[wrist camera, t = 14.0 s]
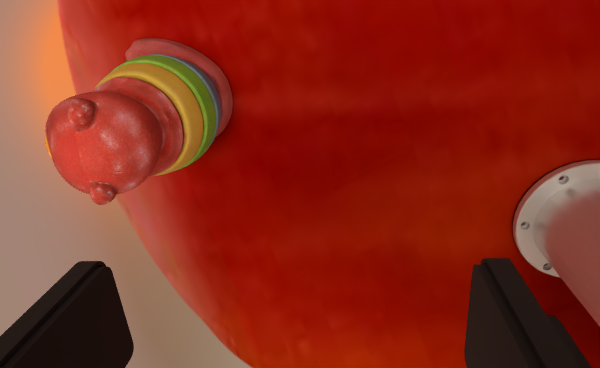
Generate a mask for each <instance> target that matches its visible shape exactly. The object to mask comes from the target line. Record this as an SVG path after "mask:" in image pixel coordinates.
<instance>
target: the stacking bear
mask: <svg viewBox="0 0 600 368" xmlns="http://www.w3.org/2000/svg"><path fill="white" fill-rule="evenodd" d="M125 55H126V60H127V61H126V62H125V63H123V64H121V65H119V66H118V67H116V68H115V69H114V70H113V71H111V72H110V73H109V74H108V75H107V76H106V77H104V78H103V79H102V80H101V81H100V82H99V83H98V85H97V86H96V87H95V89H94V90H93V92H88V93H84V94H80V95H75V96H73V97H70V98H68V99H66V100H64V101H62V102H60V103H59V104H58V105H57V106H55V108H53V110H52V111H51V113H50V115H49V117H48V120H47V122H46V129H45V141H46V147H47V150H48V152H49V154H50V157H51V158H52V159H53V162H54V164H55V167H56V168H57V170H58V172H59V173H60V174H61V176H62V177H63V178H64V179H65V180H66V181H67V182H68V183H69V184H70V185H71V186H73V187H74V188H76V189H78V190H79V191H82V192H84V193H87V194H90V196H91V198H92V200H93V201H94V202H95V203H96V204H99V205H104V204H107V203H109V202H111V201H112V200H113V199H114V198H115V196H116V194H120V193H124V192H127V191H129V190H132V189H133V188H135V187H137V186H138V185H140V184H141V183H142V182H143V181H145V179H146V178H147V177H149V176H158V175H163V174H167V173H170V172H173V171H176V170H179V169H182V168H184V167H186V166H188V165H190V164H191V163H193V162H194V161H196V160H197V159H199V158H200V157H201V156H202V155H203V154H204V153H205V152H206V151H207V149H208V148H209V147H210V145H211V144H212V142H213V140H214V139H215V137H216V136H218V135H219V134H220V133H221V132H222V131H223V130H224V129H225V127H226V126H227V124H228V122H229V120H230V117H231V114H232V108H233V97H232V92H231V88H230V85H229V82H228V80H227V78H226V77H225V75H224V73H223V72H222V71H221V69H220V68H219V67H218V66H217V65H216V64H215V63H214V62H213V61H211V60H210V59H209V58H207V57H206V56H205V55H203V54H202V53H200V52H198V51H197V50H195V49H193V48H191V47H189V46H186V45H184V44H181V43H178V42H175V41H171V40H166V39H159V38H143V39H138V40H136V41H134V42H133V43H132V45H131V47H130V48H129V49H128V50H127V51H126V54H125Z"/></svg>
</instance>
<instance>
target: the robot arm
mask: <svg viewBox="0 0 600 368" xmlns="http://www.w3.org/2000/svg"><path fill="white" fill-rule="evenodd" d="M560 177H561V178H560ZM513 236H514V240H515V243H516V245H517V247H518V249H519V251H520V253H521V254H522V255H523V256H524V258H525V259H526V260H527V262H529V263H530V264H531V265H532V266H533V267H534V268H536V269H538V270H539V271H541V272H543V273H545V274H549V275H552V276H555V277H560V278H561V279H562V280H563V281H564V282H565V284H566V285H567V286H568V288H569V289H570V290H571V291H572V293H573V294H574V295H575V296H576V298H577V299H578V300H579V301H580V303H581V304H582V305H583V306H584V308H585V309H586V310H587V311H588V313H589V314H590V315H591V316H592V318H593V319H594V320H595V322H596V323H597V324H598V325H599V327H600V160H586V161H581V162H576V163H572V164H569V165H566V166H563V167H560V168H558V169H556V170H554V171H553V172H551V173H549V174H547V175H545V176H544V177H543V178H542V179H540V180H539V181H538V182H536V183H535V184H534V185H533V186H532V187H531V188H530V189H529V190H528V191H527V192H526V194H525V195H524V197H523V198H522V200H521V201H520V203H519V205H518V207H517V210H516V212H515V216H514V221H513ZM133 348H134V347H133V341H132V337H131V334H130V330H129V327H128V324H127V320H126V317H125V314H124V311H123V307H122V303H121V300H120V297H119V293H118V290H117V287H116V284H115V280H114V277H113V273H112V271H111V269H110V268H109V267H106V265H105V264H104V263H103V262H101V261H81V262H78V263H77V264H75V265H74V266H73V267H72V268H71V269H70V270H69V271H68V272H67V273H66V274H65V275H64V276H63V277H62V278H61V279H60V280H59V281H58V282H57V283H55V284H54V285H53V286H52V287H51V288H50V289H49V290H48V291H47V292H46V293H45V294H44V295H43V296H42V297H41V298H40V299H39V300H38V301H37V302H36V303H35V304H34V305H32V306H31V307H30V308H29V309H28V310H27V311H26V312H25V313H24V314H23V315H22V316H21V317H20V318H19V319H18V320H17V321H16V322H15V323H14V324H13V325H12V326H11V327H10V328H8V330H6V331H5V332H4V333H3V334H2V335H1V336H0V368H125V367H126V365H127V364H128V362H129V360H130V359H131V357H132V354H133ZM464 352H465V361H466V365H467V368H592V367H591V366H590V364H589V363H588V361H587V360H586V359H585V357H584V356H583V354H582V353H581V351H580V350H579V348H578V347H577V345H576V344H575V342H574V341H573V339H572V338H571V337H570V335H569V334H568V332H567V331H566V329H565V328H564V326H563V325H562V323H561V322H560V321H559V320H558V319H557V317H555V316H553V315H546V314H545V313H544V311H543V309H542V308H541V306H540V305H539V303H538V302H537V300H536V299H535V297H534V296H533V294H532V293H531V291H530V289H529V288H528V286H527V285H526V283H525V282H524V280H523V279H522V277H521V276H520V274H519V273H518V271H517V269H516V268H515V266H514V265H513V263H512V262H511V261H510V259H508V258H484V259H482V261H481V265H474V267H473V272H472V282H471V291H470V301H469V311H468V320H467V330H466V340H465V351H464Z"/></svg>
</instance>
